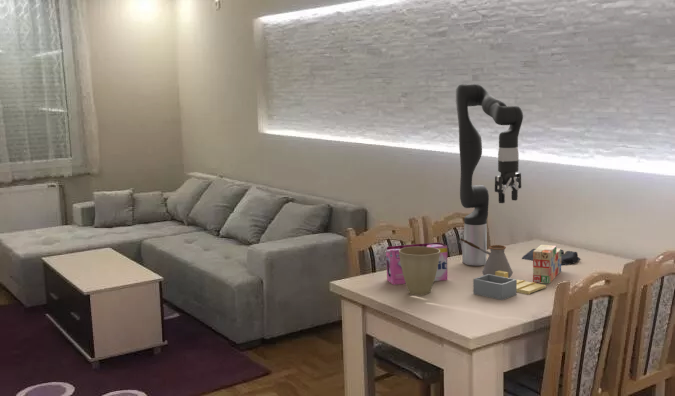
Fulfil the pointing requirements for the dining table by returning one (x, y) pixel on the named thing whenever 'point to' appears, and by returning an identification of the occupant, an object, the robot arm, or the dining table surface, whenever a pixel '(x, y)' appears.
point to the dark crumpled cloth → (566, 258)
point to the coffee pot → (494, 259)
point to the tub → (494, 286)
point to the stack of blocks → (546, 263)
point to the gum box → (396, 270)
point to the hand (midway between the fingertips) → (508, 201)
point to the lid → (523, 284)
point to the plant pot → (419, 268)
